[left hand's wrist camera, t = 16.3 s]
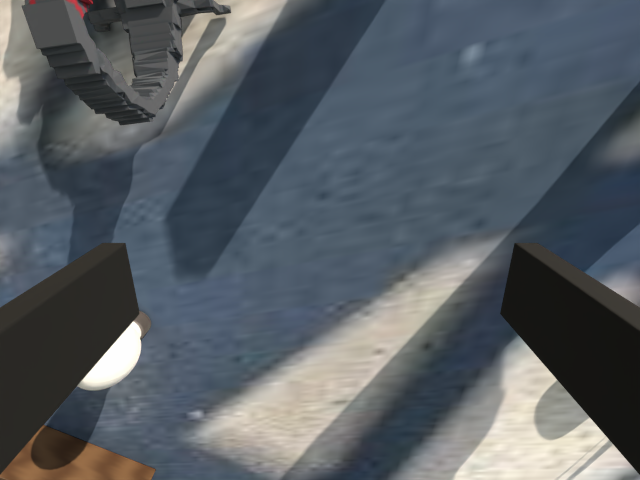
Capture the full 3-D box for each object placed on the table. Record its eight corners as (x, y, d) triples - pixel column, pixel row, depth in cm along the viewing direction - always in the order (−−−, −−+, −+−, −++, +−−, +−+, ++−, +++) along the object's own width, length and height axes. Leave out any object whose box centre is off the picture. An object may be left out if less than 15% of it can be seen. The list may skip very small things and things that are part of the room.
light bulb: (165, 309, 47) (122, 366, 36) (154, 348, 49) (109, 413, 38) (114, 291, 46) (54, 345, 35) (104, 333, 48) (45, 395, 38)
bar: (-8, 431, 54) (-61, 484, 47) (1, 408, 53) (-52, 458, 45) (143, 489, 59) (117, 545, 51) (155, 469, 57) (130, 524, 50)
